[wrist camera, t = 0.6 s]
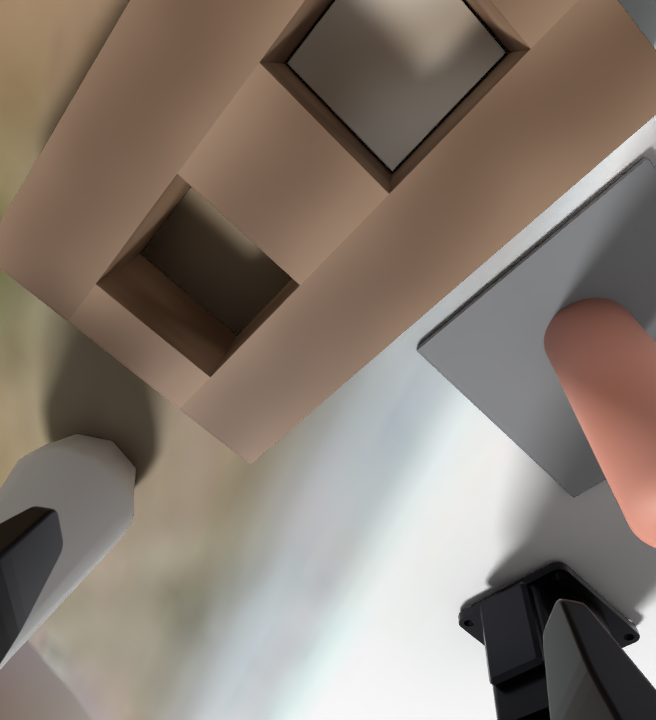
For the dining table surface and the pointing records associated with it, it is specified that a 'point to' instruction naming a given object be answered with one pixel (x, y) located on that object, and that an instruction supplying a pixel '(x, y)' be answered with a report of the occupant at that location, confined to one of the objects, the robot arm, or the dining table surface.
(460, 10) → the socket block
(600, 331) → the peg
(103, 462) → the salt shaker
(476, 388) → the mat
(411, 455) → the dining table surface
